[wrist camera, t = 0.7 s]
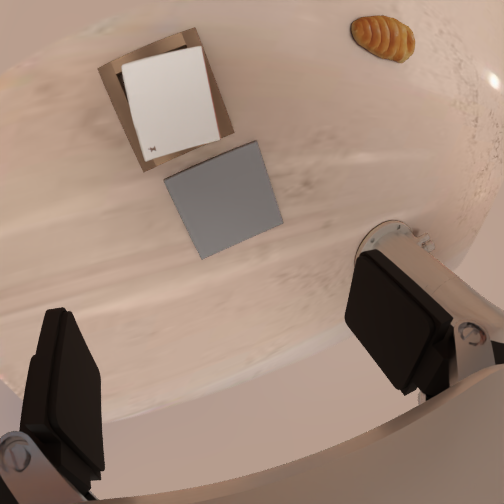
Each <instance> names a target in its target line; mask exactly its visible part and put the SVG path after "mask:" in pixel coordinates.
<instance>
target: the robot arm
mask: <svg viewBox="0 0 504 504" xmlns="http://www.w3.org/2000/svg"><path fill="white" fill-rule="evenodd" d="M429 239H430V237H429V234H428V233H425V234H423V235H421V236H420V237H415V236H414V235H413V233H412V231H411V229H410V228H409V227H408V226H407V225H406V224H404V223H402V222H400V221H396V220H395V221H388V222H385V223H382V224H380V225H379V226H377V227H376V228H374V229H373V230H372V231H371V232H370V233H369V234H368V235H367V236H366V238H365V239H364V240H363V242H362V244H361V245H360V247H359V249H358V252H357V255H356V259H355V268H354V273H353V278H352V283H351V288H350V293H349V298H348V302H347V307H346V312H345V322H346V324H347V325H348V327H349V328H350V329H351V331H352V332H353V333H354V335H355V336H356V337H357V338H358V340H359V341H360V342H361V344H362V345H363V346H364V347H365V349H366V350H367V351H368V353H369V354H370V355H371V357H372V358H373V359H374V360H375V362H376V363H377V365H378V366H379V367H380V368H381V370H382V371H383V372H384V374H385V375H386V376H387V378H388V379H389V380H390V382H391V383H392V384H393V386H394V387H395V388H396V389H398V390H401V392H402V393H403V394H404V396H405V395H407V394H409V393H411V392H413V391H415V390H416V389H417V387H418V388H419V389H420V392H419V394H418V404H419V406H417V407H415V408H413V409H411V410H410V411H408V412H406V413H404V414H402V415H400V416H398V417H396V418H395V419H392V420H390V421H388V422H386V423H384V424H382V425H381V426H378V427H376V428H374V429H372V430H370V431H368V432H365V433H363V434H361V435H359V436H357V437H354V438H352V439H350V440H347V441H345V442H343V443H340V444H338V445H336V446H333V447H331V448H328V449H325V450H323V451H320V452H318V453H315V454H313V455H310V456H307V457H304V458H301V459H298V460H295V461H292V462H290V463H286V464H283V465H280V466H277V467H274V468H271V469H267V470H264V471H261V472H257V473H254V474H250V475H246V476H242V477H239V478H235V479H231V480H227V481H222V482H218V483H213V484H209V485H204V486H199V487H194V488H189V489H182V490H177V491H170V492H164V493H158V494H151V495H143V496H134V497H124V498H114V499H104V500H99V499H98V498H97V497H96V496H95V495H94V494H93V493H92V492H91V491H90V489H91V482H90V481H91V480H92V481H93V480H101V473H100V471H104V470H105V462H104V451H103V437H102V417H101V377H100V372H99V369H98V367H97V365H96V363H95V361H94V359H93V357H92V355H91V353H90V351H89V349H88V347H87V345H86V343H85V341H84V338H83V336H82V334H81V332H80V330H79V327H78V325H77V323H76V321H75V318H74V316H73V314H72V312H71V311H68V312H67V311H66V309H65V308H63V307H62V308H55V309H49V310H47V311H46V313H45V316H44V320H43V324H42V328H41V332H40V336H39V341H38V345H37V350H36V355H33V357H32V358H31V361H30V365H29V370H28V376H27V381H26V387H25V393H24V399H23V406H22V413H21V421H20V430H19V431H12V432H8V433H6V434H4V435H3V436H2V437H1V438H0V504H504V311H503V310H502V309H500V308H499V307H497V306H495V305H494V304H493V303H491V302H490V301H488V300H487V299H485V298H484V297H483V296H481V295H480V294H479V293H478V292H476V291H475V290H474V289H473V288H471V287H470V286H469V285H468V284H467V283H465V282H464V281H463V280H462V279H460V278H459V277H458V276H457V275H456V274H454V273H453V272H452V271H451V270H450V269H448V268H447V267H446V266H445V265H443V264H442V263H441V262H440V261H438V260H437V259H436V258H434V257H433V256H432V255H431V254H429V252H431V251H433V250H434V249H435V245H434V243H433V242H432V241H431V240H429ZM428 240H429V241H428ZM426 241H427V242H426ZM424 242H426V243H424ZM422 243H424V244H422ZM421 244H422V246H421Z"/></svg>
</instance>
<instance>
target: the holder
mask: <svg viewBox="0 0 504 504" xmlns="http://www.w3.org/2000/svg"><path fill="white" fill-rule="evenodd" d="M196 46H202V44H201V41H200V38H199V36H198V33H197V31H196V28H192V29H189V30H186V31H183V32H180V33H177V34H175V35H172V36H169V37H167V38H164V39H162V40H159V41H157V42H154V43H152V44H149V45H147V46H144V47H142V48H140V49H137V50H135V51H133V52H131V53H128V54H126V55H124V56H122V57H120V58H118V59H116V60H114V61H111V62H109V63H107V64H105V65H103V66H101V67H100V68H98V71H99V73H100V76H101V78H102V81H103V83H104V85H105V88H106V90H107V92H108V95H109V97H110V99H111V102H112V104H113V106H114V109H115V111H116V113H117V115H118V118H119V120H120V122H121V124H122V127H123V129H124V131H125V133H126V136H127V138H128V140H129V142H130V144H131V146H132V149H133V151H134V153H135V155H136V157H137V159H138V161H139V164H140V166H141V168H142V170H143V172H146V171H148V170H150V169H152V168H154V167H156V166H158V165H160V164H163V163H165V162H167V161H169V160H171V159H173V158H176V157H178V156H180V155H182V154H185V153H187V152H189V151H192V150H194V149H196V148H199V147H201V146H203V145H206V144H208V143H206V144H202V145H199V146H195V147H191V148H188V149H184V150H181V151H178V152H174V153H171V154H168V155H165V156H161V157H158V158H155V159H152V160H149V161H147V162H146V161H145V160H144V156H143V153H142V150H141V146H140V143H139V139H138V136H137V132H136V129H135V127H134V124H133V119H132V116H131V111H130V106H129V102H128V98H127V93H126V90H125V87H124V85H123V82H122V80H121V78H120V75H121V74H122V69H121V66H122V65H123V64H126V63H129V62H132V61H136V60H139V59H143V58H147V57H151V56H155V55H159V54H163V53H167V52H172V51H176V50H179V49H182V48H183V49H186V48H191V47H196ZM202 49H203V46H202ZM203 54H204V59H205V64H206V69H207V74H208V78H209V83H210V88H211V93H212V98H213V102H214V107H215V112H216V117H217V122H218V127H219V132H220V137H221V138H223V137H225V136H228V135H230V134H233V133H234V130H233V127H232V124H231V121H230V119H229V116H228V113H227V111H226V108H225V105H224V102H223V100H222V97H221V94H220V92H219V89H218V86H217V83H216V81H215V78H214V75H213V73H212V70H211V67H210V65H209V62H208V59H207V57H206V54H205V52H204V49H203Z"/></svg>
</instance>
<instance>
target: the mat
mask: <svg viewBox="0 0 504 504" xmlns="http://www.w3.org/2000/svg"><path fill="white" fill-rule="evenodd" d="M164 183H165V185H166V187H167V189H168V191H169V193H170V196H171V198H172V200H173V202H174V204H175V206H176V208H177V210H178V212H179V214H180V216H181V218H182V221H183V223H184V225H185V227H186V229H187V231H188V233H189V235H190V237H191V239H192V241H193V243H194V245H195V247H196V249H197V251H198V253H199V255H200V257H201V259H204V258H207V257H209V256H211V255H213V254H215V253H218V252H220V251H222V250H224V249H227V248H229V247H231V246H233V245H236V244H238V243H240V242H242V241H244V240H247V239H249V238H251V237H253V236H256V235H258V234H260V233H262V232H265V231H267V230H269V229H271V228H274V227H276V226H278V225H281V224H283V220H282V217H281V214H280V211H279V208H278V205H277V201H276V198H275V195H274V192H273V189H272V186H271V183H270V180H269V176H268V173H267V170H266V167H265V164H264V161H263V158H262V155H261V152H260V149H259V146H258V143H257V141H253V142H251V143H248V144H246V145H243V146H240V147H238V148H235V149H233V150H231V151H228V152H226V153H223V154H221V155H218V156H216V157H214V158H211V159H209V160H206V161H204V162H202V163H200V164H197V165H195V166H193V167H190V168H188V169H186V170H184V171H181V172H179V173H177V174H175V175H173V176H170V177H168V178H166V179H164Z"/></svg>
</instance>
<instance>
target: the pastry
mask: <svg viewBox="0 0 504 504" xmlns="http://www.w3.org/2000/svg"><path fill="white" fill-rule="evenodd" d="M351 30H352V35H353V37H354V39H355V41H356V42H357V43H358V44H359V45H360V46H362V47H364V48H366V49H367V50H368V51H369V52H371V53H372V54H374V55H377V56H378V57H380V58H382V59H389V60H393V61H396V62H398V63H403V62H405V60H407V59H408V58H409V57H410V56H411V55H412V54H413V52H414V48H415V39H414V36H413V32H412V31H411V29H410V28H409V27H408V26H406V25H405V24H402V23H401V22H399V21H398V20H396V19H394V18H390V17H386V16H371V17H361V18H359V19H358V20H355V21H354V22H353V23H352V28H351Z"/></svg>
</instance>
